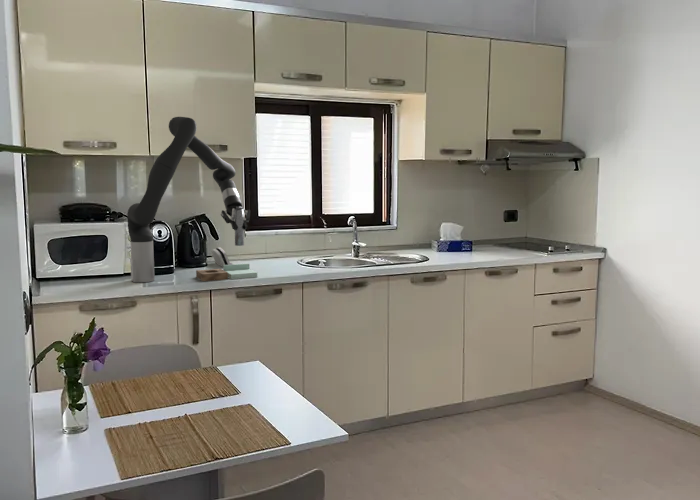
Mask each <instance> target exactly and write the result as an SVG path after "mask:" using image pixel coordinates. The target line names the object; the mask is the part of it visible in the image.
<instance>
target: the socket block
mask: <svg viewBox="0 0 700 500" xmlns="http://www.w3.org/2000/svg"><path fill="white" fill-rule="evenodd" d="M195 273H196V274H195V275H196V277H195V278H197V279H198V280H200V281H202V282H208V281H209V282H210V281H221V280H224V281H225V280H228V279H229V278H228V272H226V271H224V270H223V269H222V268H214V269H211V268H210V269H199V270H198V269H196V270H195Z"/></svg>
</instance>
